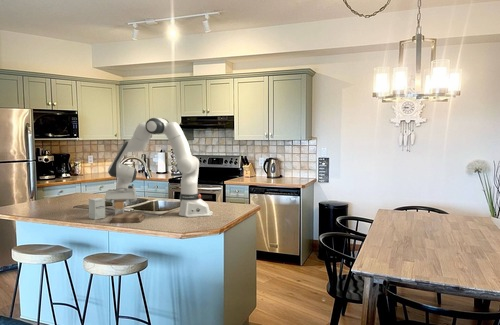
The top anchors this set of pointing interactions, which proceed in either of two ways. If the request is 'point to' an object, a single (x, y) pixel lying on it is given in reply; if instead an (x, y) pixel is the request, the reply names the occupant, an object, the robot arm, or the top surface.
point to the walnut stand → (128, 218)
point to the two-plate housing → (119, 207)
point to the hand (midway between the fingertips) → (119, 206)
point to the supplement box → (96, 208)
